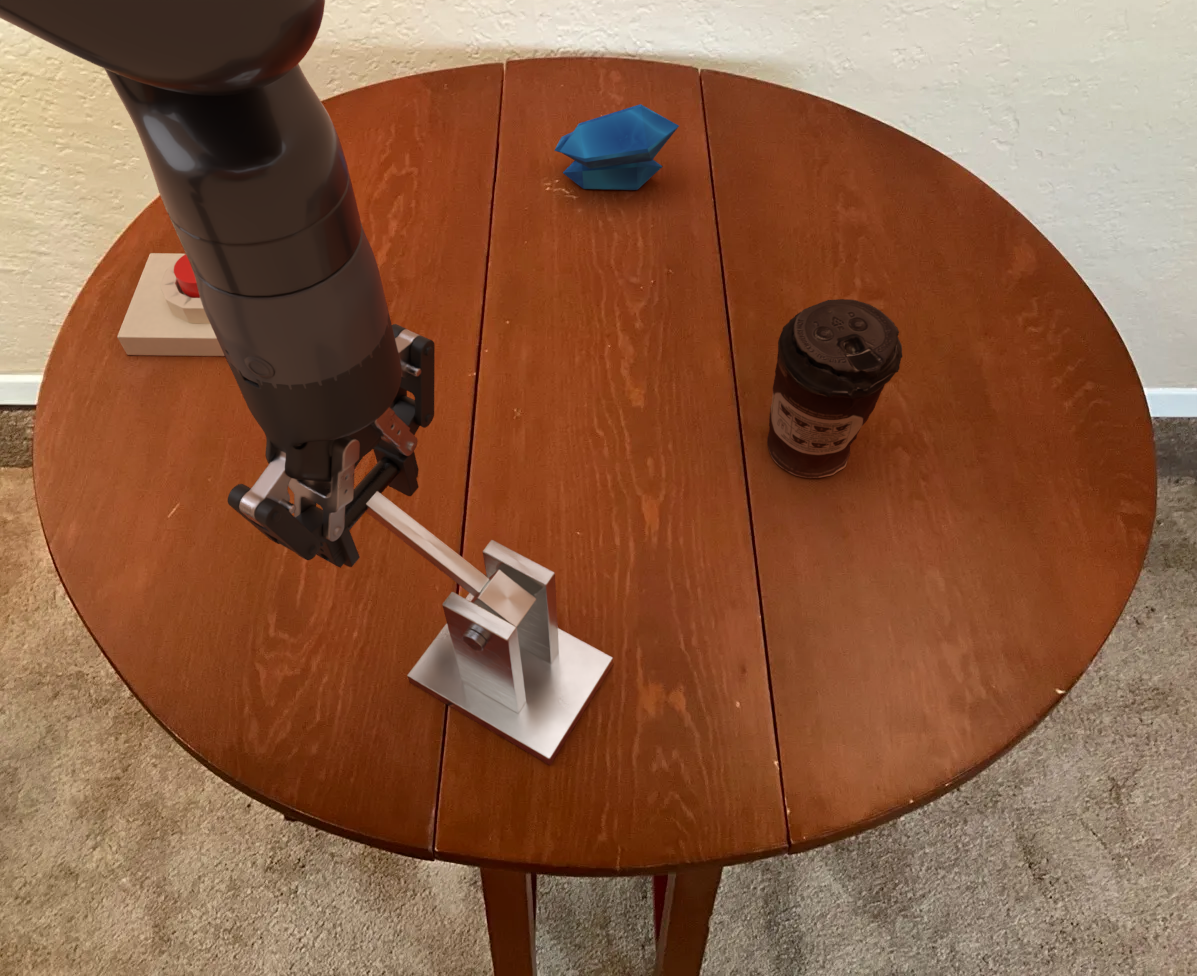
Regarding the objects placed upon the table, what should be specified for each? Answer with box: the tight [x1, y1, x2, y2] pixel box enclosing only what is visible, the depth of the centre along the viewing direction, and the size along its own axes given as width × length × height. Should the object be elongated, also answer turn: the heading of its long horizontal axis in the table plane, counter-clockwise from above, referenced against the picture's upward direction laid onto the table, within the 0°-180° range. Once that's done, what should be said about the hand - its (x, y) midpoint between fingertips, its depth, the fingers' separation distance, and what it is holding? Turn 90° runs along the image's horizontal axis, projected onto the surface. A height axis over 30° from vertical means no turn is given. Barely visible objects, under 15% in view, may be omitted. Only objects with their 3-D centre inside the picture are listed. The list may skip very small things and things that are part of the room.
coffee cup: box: [766, 298, 903, 479], centre depth 70 cm, size 9×8×13 cm
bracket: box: [406, 539, 614, 766], centre depth 59 cm, size 11×8×12 cm
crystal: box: [554, 103, 680, 191], centre depth 90 cm, size 7×9×12 cm
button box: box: [117, 252, 225, 357], centre depth 81 cm, size 13×10×4 cm
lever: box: [344, 457, 536, 627], centre depth 56 cm, size 12×5×2 cm, turn 60°
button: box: [174, 253, 200, 298], centre depth 79 cm, size 4×4×2 cm
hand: (372, 520), depth 57 cm, fingers closed on lever, 5 cm apart
